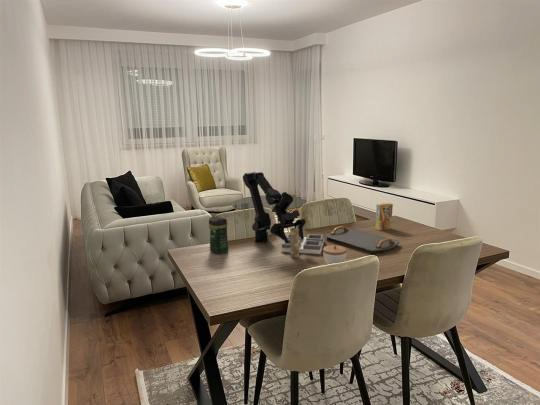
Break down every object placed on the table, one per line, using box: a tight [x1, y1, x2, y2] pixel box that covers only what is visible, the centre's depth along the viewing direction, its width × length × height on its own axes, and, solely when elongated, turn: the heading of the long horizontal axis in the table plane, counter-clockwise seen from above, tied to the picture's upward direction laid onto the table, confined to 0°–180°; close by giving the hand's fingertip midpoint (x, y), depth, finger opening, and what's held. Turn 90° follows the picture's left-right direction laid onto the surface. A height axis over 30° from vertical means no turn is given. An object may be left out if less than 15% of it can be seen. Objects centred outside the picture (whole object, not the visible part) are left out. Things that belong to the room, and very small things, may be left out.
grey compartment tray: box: [280, 232, 325, 255], centre depth 219 cm, size 20×20×4 cm
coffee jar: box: [208, 215, 229, 255], centre depth 211 cm, size 10×8×19 cm
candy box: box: [375, 202, 394, 231], centre depth 248 cm, size 9×4×15 cm, turn 111°
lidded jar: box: [322, 244, 347, 265], centre depth 193 cm, size 11×11×9 cm
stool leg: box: [289, 227, 300, 259], centre depth 204 cm, size 4×4×14 cm
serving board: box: [324, 225, 400, 255], centre depth 224 cm, size 39×23×6 cm, turn 39°
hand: (295, 240), depth 203 cm, fingers open, 9 cm apart
